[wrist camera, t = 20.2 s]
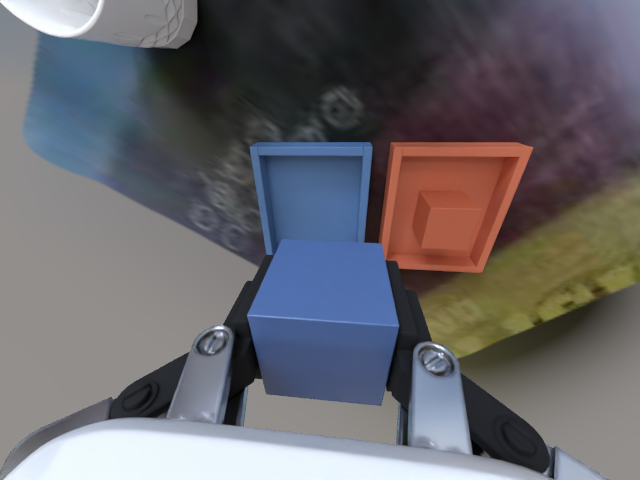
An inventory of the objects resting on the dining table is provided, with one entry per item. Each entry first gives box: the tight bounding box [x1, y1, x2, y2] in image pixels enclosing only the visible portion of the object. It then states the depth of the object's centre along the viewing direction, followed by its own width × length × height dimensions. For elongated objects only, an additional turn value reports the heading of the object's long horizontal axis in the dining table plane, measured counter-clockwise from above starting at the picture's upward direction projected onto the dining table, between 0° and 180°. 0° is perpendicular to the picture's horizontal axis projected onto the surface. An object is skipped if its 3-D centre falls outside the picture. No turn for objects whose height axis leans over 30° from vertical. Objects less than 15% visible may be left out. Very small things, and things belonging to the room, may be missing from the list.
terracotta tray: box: [378, 142, 533, 273], centre depth 26 cm, size 12×14×2 cm
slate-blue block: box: [247, 239, 399, 406], centre depth 10 cm, size 4×4×4 cm
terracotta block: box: [412, 191, 482, 250], centre depth 25 cm, size 4×4×4 cm
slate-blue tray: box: [250, 142, 373, 255], centre depth 27 cm, size 12×14×2 cm
